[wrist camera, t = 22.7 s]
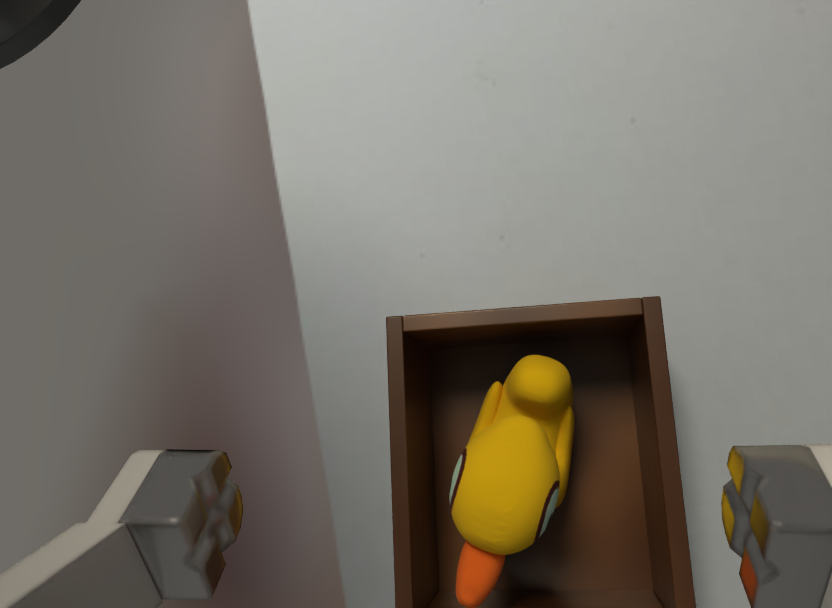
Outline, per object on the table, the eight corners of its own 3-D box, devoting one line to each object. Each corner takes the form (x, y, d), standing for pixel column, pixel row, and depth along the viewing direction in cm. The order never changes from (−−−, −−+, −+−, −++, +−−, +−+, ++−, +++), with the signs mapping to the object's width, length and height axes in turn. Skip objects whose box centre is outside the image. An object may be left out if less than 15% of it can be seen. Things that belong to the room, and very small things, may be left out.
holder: (427, 602, 37) (396, 644, 29) (416, 338, 40) (385, 316, 32) (669, 603, 34) (700, 649, 27) (639, 322, 37) (660, 295, 30)
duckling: (534, 588, 35) (527, 646, 26) (438, 549, 37) (397, 591, 27) (597, 381, 37) (613, 363, 27) (503, 351, 38) (486, 324, 28)
